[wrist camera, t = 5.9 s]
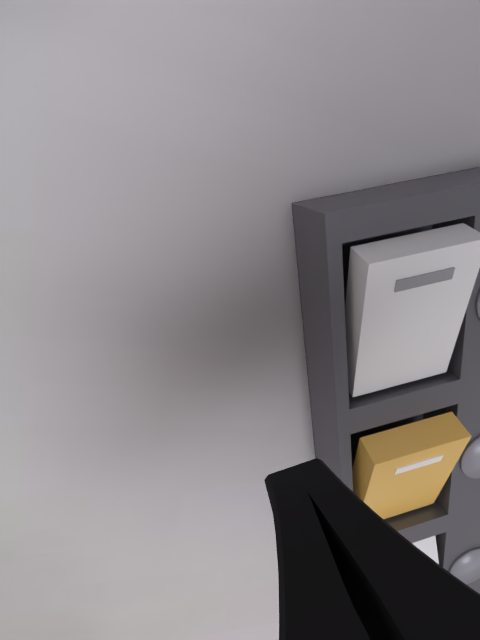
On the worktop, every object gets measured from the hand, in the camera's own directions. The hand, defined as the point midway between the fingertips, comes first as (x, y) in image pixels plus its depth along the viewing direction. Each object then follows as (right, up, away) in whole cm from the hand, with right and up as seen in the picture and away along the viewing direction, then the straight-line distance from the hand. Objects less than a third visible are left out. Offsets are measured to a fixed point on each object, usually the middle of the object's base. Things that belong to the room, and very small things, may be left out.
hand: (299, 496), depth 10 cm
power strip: (+8, -4, +15) cm, 18 cm away
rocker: (+6, +4, +8) cm, 10 cm away
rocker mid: (+7, -4, +11) cm, 14 cm away
